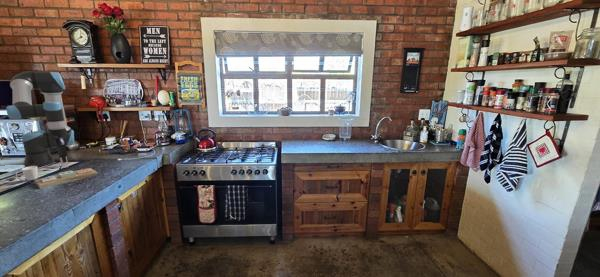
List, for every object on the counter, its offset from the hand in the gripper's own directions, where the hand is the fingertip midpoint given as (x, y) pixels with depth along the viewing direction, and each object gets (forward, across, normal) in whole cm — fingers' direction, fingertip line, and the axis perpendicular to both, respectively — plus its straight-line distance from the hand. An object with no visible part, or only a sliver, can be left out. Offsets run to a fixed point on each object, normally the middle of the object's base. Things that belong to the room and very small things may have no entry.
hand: (65, 167), depth 150 cm
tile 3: (+7, 0, +8) cm, 11 cm away
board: (+8, 0, 0) cm, 8 cm away
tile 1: (+7, 0, -8) cm, 11 cm away
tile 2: (+6, 0, 0) cm, 6 cm away
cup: (+8, -16, -14) cm, 23 cm away
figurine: (+8, -38, +47) cm, 61 cm away
